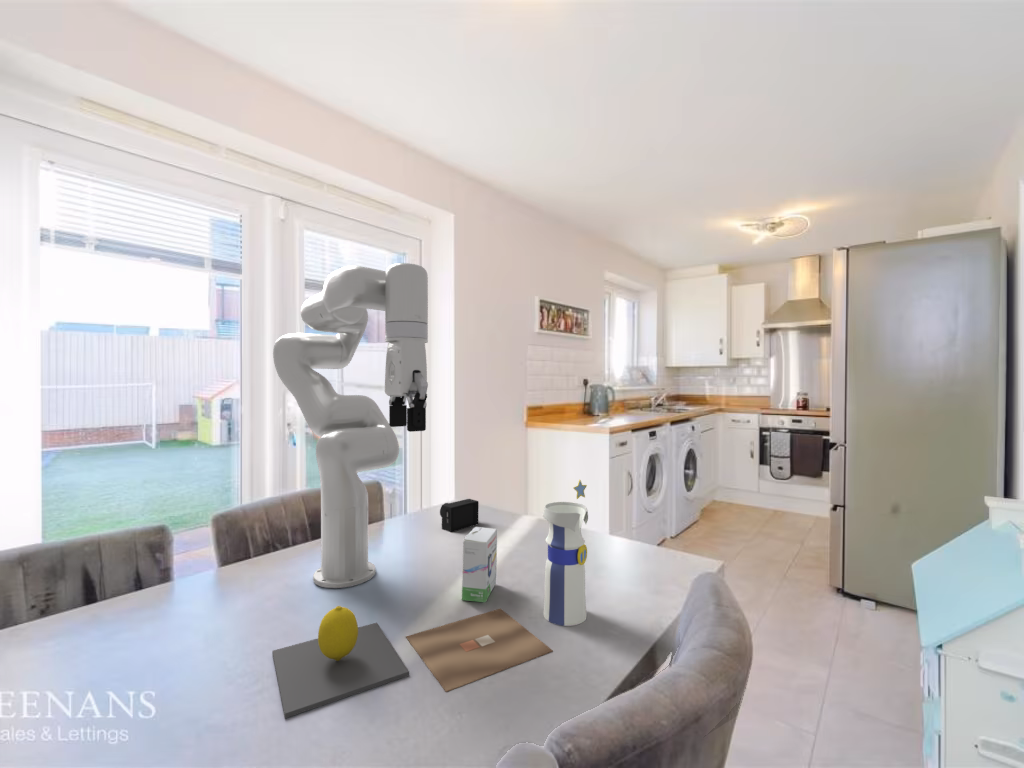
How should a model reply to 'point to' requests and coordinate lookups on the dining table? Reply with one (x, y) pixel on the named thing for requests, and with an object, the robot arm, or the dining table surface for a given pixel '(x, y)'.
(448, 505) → the digital camera
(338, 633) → the lemon
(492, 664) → the board
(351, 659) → the rubber mat
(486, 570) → the ink box
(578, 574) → the water bottle
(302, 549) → the dining table surface
